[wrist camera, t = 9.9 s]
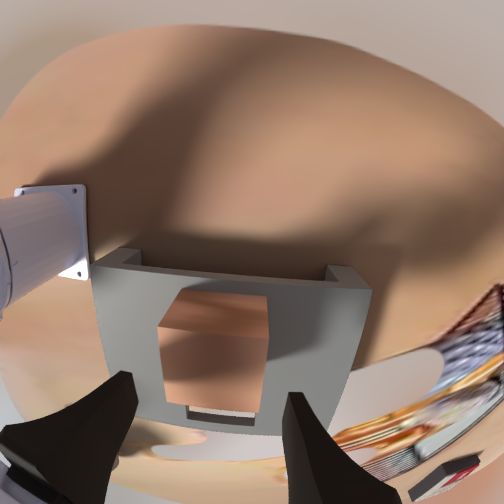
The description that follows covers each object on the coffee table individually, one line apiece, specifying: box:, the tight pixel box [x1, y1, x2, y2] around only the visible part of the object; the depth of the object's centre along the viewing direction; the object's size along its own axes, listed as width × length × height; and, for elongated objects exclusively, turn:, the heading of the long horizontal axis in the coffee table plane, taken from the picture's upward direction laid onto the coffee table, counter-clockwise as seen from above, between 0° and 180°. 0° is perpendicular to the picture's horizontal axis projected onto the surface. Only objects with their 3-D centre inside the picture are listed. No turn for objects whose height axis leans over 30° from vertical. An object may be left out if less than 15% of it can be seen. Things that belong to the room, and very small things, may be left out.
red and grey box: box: [408, 455, 480, 502], centre depth 31 cm, size 11×4×15 cm
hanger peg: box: [157, 288, 269, 413], centre depth 16 cm, size 5×5×8 cm
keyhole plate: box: [89, 247, 373, 436], centre depth 20 cm, size 18×14×4 cm
